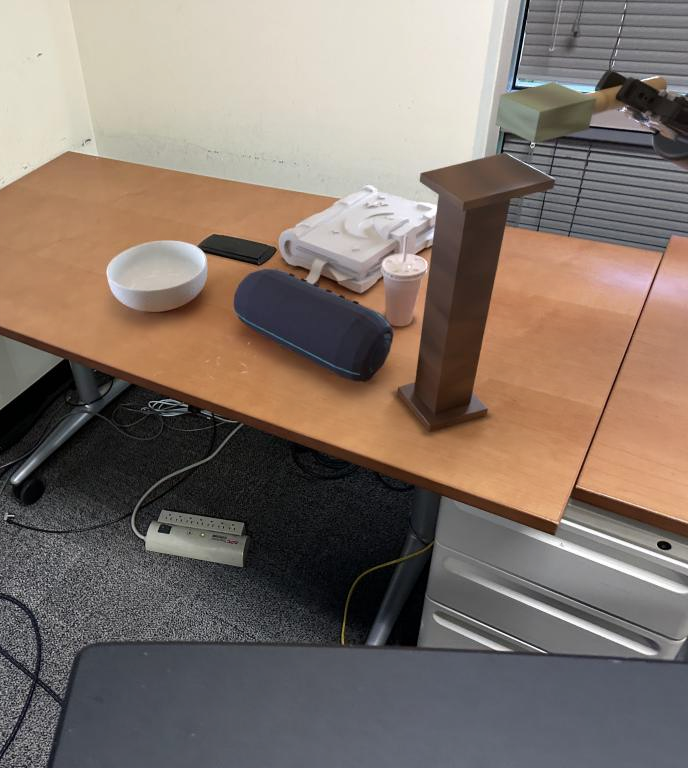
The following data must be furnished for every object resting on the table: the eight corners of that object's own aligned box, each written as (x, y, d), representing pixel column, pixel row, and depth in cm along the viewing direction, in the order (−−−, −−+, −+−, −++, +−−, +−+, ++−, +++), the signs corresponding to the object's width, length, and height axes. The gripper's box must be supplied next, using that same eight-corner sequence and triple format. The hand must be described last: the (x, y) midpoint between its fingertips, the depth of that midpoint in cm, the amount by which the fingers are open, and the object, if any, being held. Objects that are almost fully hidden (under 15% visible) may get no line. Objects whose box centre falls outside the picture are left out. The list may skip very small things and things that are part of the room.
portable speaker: (404, 368, 96) (410, 308, 89) (358, 403, 91) (362, 343, 85) (272, 305, 112) (270, 251, 105) (228, 332, 107) (223, 278, 101)
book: (257, 272, 120) (255, 233, 115) (358, 212, 132) (360, 174, 128) (345, 311, 108) (347, 269, 103) (448, 241, 120) (453, 200, 115)
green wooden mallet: (631, 91, 72) (640, 61, 70) (678, 107, 67) (688, 75, 66) (494, 124, 70) (499, 94, 68) (533, 143, 65) (540, 111, 64)
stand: (464, 374, 93) (505, 152, 74) (500, 411, 87) (555, 179, 67) (396, 393, 92) (420, 172, 72) (429, 432, 86) (464, 202, 66)
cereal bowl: (230, 290, 117) (227, 254, 112) (163, 339, 108) (157, 302, 104) (160, 264, 127) (154, 230, 122) (93, 307, 118) (85, 271, 114)
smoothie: (417, 306, 107) (426, 224, 98) (424, 330, 102) (435, 246, 93) (374, 308, 108) (380, 227, 99) (379, 332, 103) (386, 249, 94)
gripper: (742, 193, 71) (641, 143, 64) (638, 149, 82) (542, 102, 75) (800, 122, 68) (700, 61, 60) (684, 86, 78) (587, 30, 71)
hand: (613, 84), depth 67 cm, fingers closed on green wooden mallet, 2 cm apart
